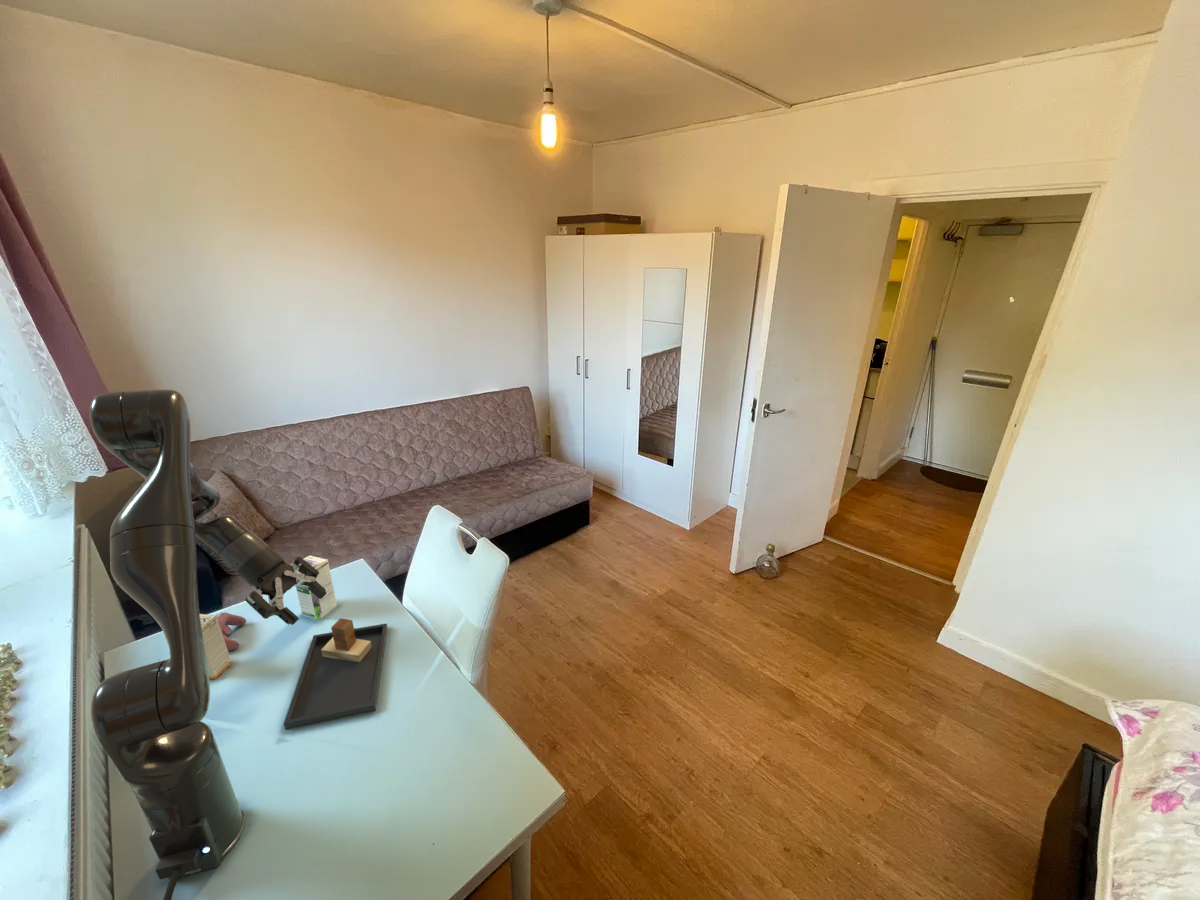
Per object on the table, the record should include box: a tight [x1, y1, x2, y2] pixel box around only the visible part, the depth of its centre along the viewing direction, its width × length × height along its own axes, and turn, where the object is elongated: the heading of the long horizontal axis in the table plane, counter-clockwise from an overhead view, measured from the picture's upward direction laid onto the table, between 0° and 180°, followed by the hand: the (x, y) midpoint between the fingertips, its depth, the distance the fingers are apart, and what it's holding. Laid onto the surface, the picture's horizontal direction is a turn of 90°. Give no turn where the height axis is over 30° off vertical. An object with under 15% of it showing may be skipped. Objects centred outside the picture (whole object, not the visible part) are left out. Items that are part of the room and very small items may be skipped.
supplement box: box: [162, 613, 233, 680], centre depth 102 cm, size 8×5×13 cm, turn 84°
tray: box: [283, 623, 389, 730], centre depth 104 cm, size 24×16×2 cm, turn 17°
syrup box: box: [294, 555, 338, 621], centre depth 119 cm, size 6×6×14 cm
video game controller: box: [215, 612, 247, 651], centre depth 111 cm, size 10×5×7 cm, turn 25°
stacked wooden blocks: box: [321, 618, 372, 663], centre depth 108 cm, size 9×4×8 cm, turn 81°
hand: (310, 608), depth 106 cm, fingers open, 8 cm apart
